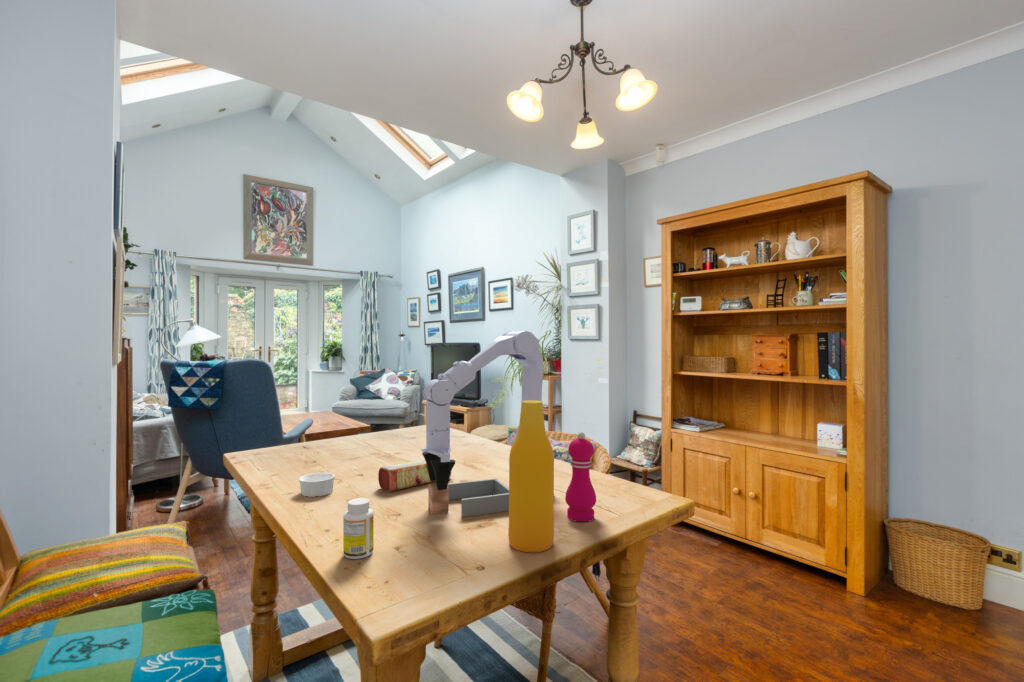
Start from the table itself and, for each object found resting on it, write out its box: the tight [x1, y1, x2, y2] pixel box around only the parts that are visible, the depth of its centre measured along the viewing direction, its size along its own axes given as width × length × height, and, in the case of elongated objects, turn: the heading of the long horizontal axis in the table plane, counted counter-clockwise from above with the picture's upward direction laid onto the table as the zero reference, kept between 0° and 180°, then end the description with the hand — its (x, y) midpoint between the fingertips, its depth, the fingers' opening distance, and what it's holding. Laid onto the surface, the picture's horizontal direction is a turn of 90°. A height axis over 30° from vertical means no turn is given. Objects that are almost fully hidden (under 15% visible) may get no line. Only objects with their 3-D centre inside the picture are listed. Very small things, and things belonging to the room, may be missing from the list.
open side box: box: [448, 477, 509, 518], centre depth 122 cm, size 14×14×4 cm
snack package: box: [377, 459, 452, 493], centre depth 139 cm, size 21×7×7 cm, turn 133°
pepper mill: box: [564, 431, 597, 522], centre depth 113 cm, size 7×7×20 cm
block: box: [427, 482, 450, 514], centre depth 117 cm, size 4×4×6 cm
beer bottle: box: [507, 400, 555, 553], centre depth 98 cm, size 9×9×29 cm
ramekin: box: [298, 472, 336, 498], centre depth 130 cm, size 9×9×4 cm
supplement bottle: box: [342, 497, 375, 560], centre depth 93 cm, size 6×6×10 cm
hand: (438, 484), depth 117 cm, fingers open, 7 cm apart
